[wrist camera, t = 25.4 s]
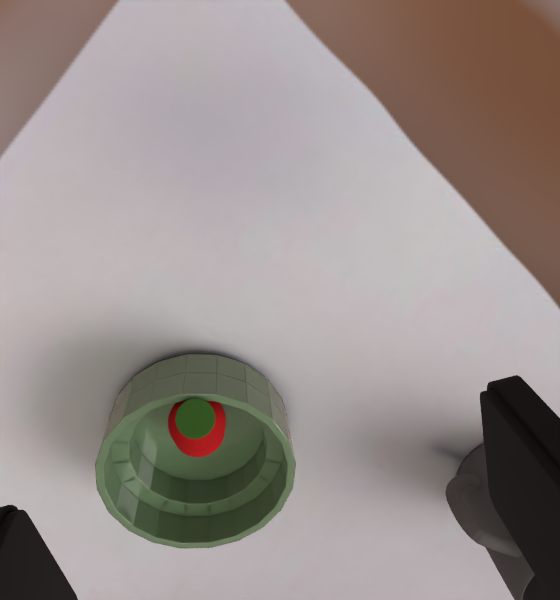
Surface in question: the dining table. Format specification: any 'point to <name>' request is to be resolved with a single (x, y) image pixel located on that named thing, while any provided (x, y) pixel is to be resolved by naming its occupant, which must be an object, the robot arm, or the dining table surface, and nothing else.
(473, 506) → the mug
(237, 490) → the fruit bowl
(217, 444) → the red ball green cap
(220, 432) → the strawberry
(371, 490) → the dining table surface
